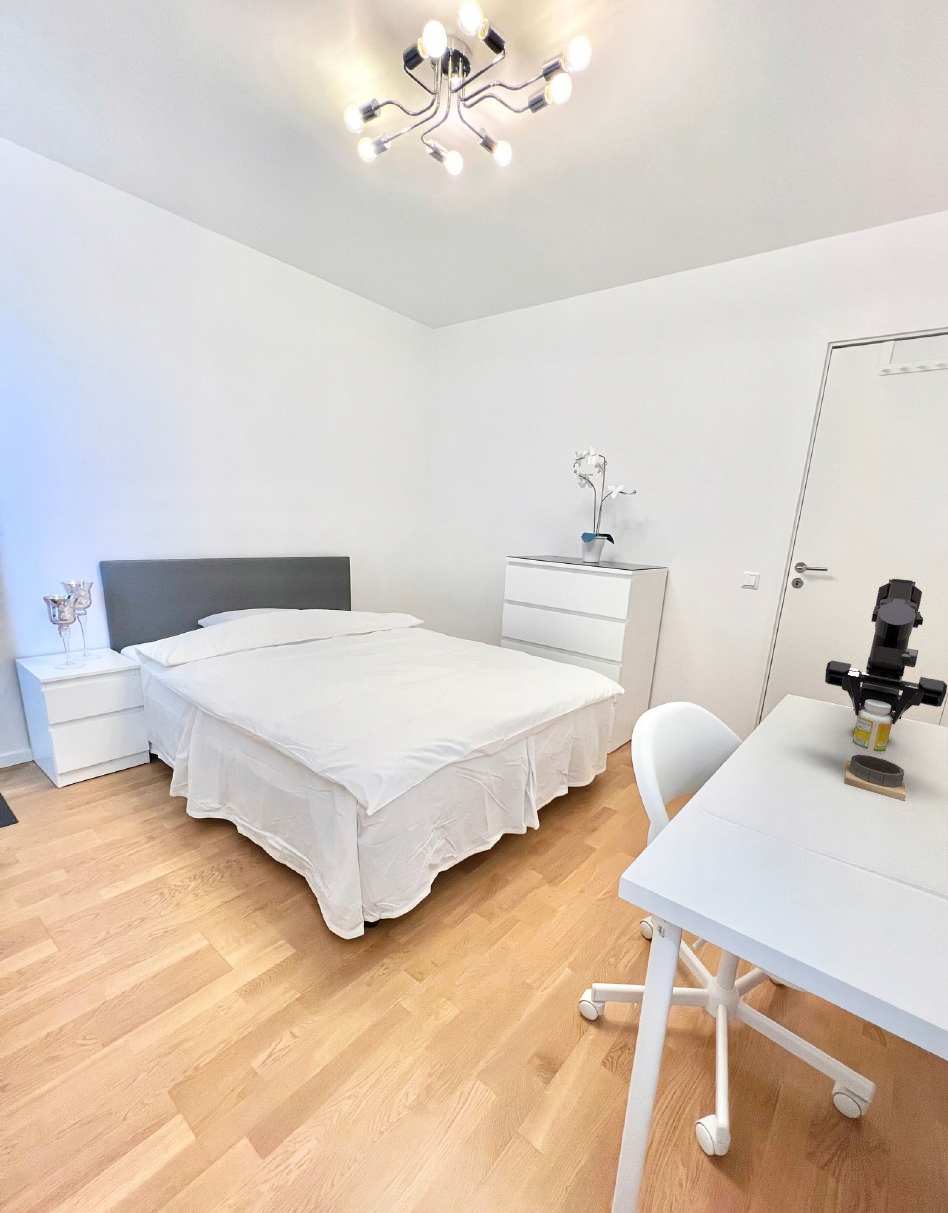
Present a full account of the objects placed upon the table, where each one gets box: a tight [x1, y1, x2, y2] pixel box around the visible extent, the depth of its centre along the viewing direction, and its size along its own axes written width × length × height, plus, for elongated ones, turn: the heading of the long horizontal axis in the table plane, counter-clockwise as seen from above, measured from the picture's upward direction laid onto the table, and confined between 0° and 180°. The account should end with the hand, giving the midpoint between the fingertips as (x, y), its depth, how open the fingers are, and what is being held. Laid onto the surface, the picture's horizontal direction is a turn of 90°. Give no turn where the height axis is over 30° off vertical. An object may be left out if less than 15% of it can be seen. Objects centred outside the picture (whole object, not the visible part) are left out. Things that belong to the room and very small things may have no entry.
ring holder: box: [844, 754, 907, 802], centre depth 101 cm, size 10×9×4 cm
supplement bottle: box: [851, 700, 893, 755], centre depth 101 cm, size 5×5×10 cm
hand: (874, 718), depth 99 cm, fingers closed on supplement bottle, 5 cm apart
